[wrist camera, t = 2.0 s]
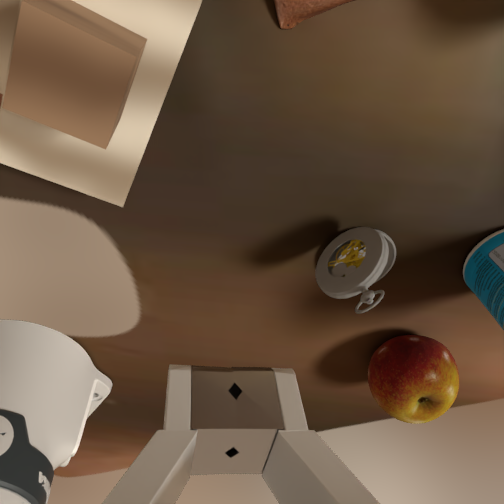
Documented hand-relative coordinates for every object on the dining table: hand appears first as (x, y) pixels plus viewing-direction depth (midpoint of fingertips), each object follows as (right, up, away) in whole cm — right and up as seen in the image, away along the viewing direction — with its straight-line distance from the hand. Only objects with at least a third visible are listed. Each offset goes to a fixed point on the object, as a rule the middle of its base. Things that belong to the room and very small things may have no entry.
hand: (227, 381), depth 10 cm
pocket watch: (+10, +4, +29) cm, 31 cm away
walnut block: (-9, +14, +14) cm, 21 cm away
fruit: (+18, -8, +38) cm, 43 cm away
